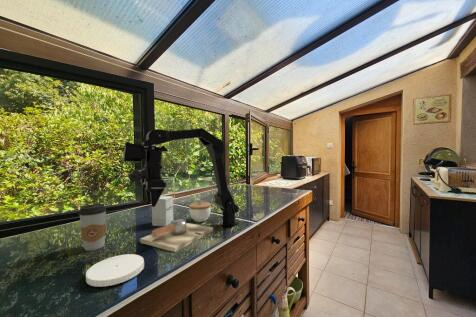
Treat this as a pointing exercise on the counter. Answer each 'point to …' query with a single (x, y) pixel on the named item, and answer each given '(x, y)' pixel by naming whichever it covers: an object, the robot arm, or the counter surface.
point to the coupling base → (177, 238)
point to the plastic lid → (114, 270)
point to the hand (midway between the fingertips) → (151, 204)
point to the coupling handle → (171, 228)
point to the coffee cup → (93, 226)
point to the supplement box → (163, 211)
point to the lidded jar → (200, 211)
